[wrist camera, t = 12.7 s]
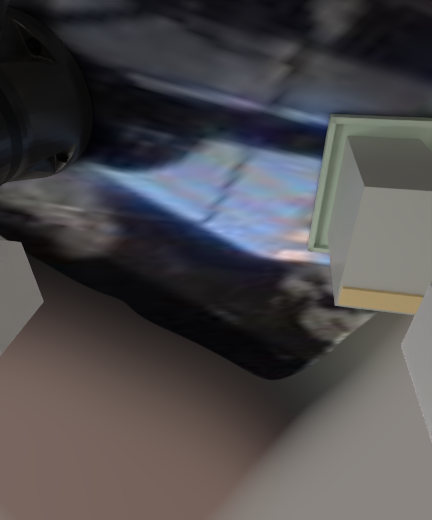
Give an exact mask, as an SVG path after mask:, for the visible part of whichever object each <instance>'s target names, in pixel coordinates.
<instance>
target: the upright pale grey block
mask: <svg viewBox="0 0 432 520" xmlns="http://www.w3.org/2000/svg"><path fill="white" fill-rule="evenodd" d="M327 238H328V247H329V256H330V265H331V274H332V283H333V292H334V301H335V306H343V307H351V308H359V309H368V310H376V311H384V312H393V313H401V314H409V315H415V314H416V312H417V310H418V308H419V306H420V304H421V302H422V299H423V297H424V295H425V293H426V291H427V289H428V287H429V285H430V284H431V281H432V151H431V150H430V149H429V148H428V147H427V146H426V145H425V144H424V142H423V141H422V140H421V139H404V138H383V137H362V136H347V138H346V143H345V148H344V152H343V157H342V162H341V167H340V172H339V177H338V182H337V187H336V192H335V197H334V202H333V207H332V212H331V217H330V222H329V227H328V232H327Z"/></svg>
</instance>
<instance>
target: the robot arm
mask: <svg viewBox="0 0 432 520" xmlns="http://www.w3.org/2000/svg"><path fill="white" fill-rule="evenodd" d="M7 4H8V0H0V186H1V185H2V184H4V183H6V182H11V181H20V180H28V179H37V178H44V177H49V176H52V175H54V174H57V173H59V172H61V171H62V170H64V169H65V168H67V167H68V166H70V165H71V164H73V163H74V162H75V161H77V160H78V159H79V158H80V156H81V155H82V154H83V153H84V151H85V149H86V147H87V145H88V143H89V140H90V137H91V133H92V126H93V110H92V102H91V97H90V93H89V90H88V87H87V84H86V81H85V79H84V76H83V74H82V72H81V70H80V68H79V66H78V64H77V62H76V61H75V59H74V57H73V56H72V54H71V53H70V52H69V50H68V49H67V47H66V46H65V45H64V44H63V42H62V41H61V40H60V39H59V38H58V37H57V36H56V35H55V34H54V33H53V32H52V31H51V30H50V29H49V28H48V27H46V26H45V25H44V24H43V23H41V22H40V21H38V20H37V19H36V18H34V17H32V16H31V15H29V14H27V13H25V12H23V11H21V10H18V9H15V8H12V7H9V6H7ZM42 303H43V299H42V296H41V294H40V291H39V289H38V286H37V283H36V280H35V278H34V275H33V273H32V270H31V267H30V265H29V262H28V259H27V257H26V254H25V252H24V249H23V246H22V244H21V242H14V241H3V240H0V356H1V354H2V353H3V352H4V350H5V349H6V348H7V347H8V345H9V344H10V343H11V342H12V340H13V339H14V338H15V337H16V336H17V334H18V333H19V332H20V331H21V329H22V328H23V327H24V326H25V324H26V323H27V322H28V321H29V319H30V318H31V317H32V315H33V314H34V313H35V312H36V311H37V309H38V308H39V307H40V305H41V304H42ZM401 348H402V351H403V355H404V357H405V361H406V364H407V367H408V370H409V373H410V377H411V380H412V383H413V386H414V389H415V393H416V396H417V399H418V402H419V405H420V408H421V411H422V415H423V418H424V421H425V424H426V427H427V430H428V433H429V437H430V439H431V443H432V284H430V285H429V287H428V289H427V291H426V293H425V295H424V297H423V299H422V302H421V304H420V306H419V308H418V310H417V312H416V314H415V316H414V319H413V321H412V323H411V325H410V327H409V329H408V331H407V334H406V336H405V338H404V340H403V342H402V344H401Z"/></svg>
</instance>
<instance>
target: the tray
mask: <svg viewBox="0 0 432 520" xmlns="http://www.w3.org/2000/svg"><path fill="white" fill-rule="evenodd" d="M347 136H362V137H383V138H404V139H421V140H422V141H423V142H424V144H425V145H426V146H427V147H428V148H429V149H430V150H431V151H432V118H424V117H400V116H376V115H352V114H330V118H329V123H328V129H327V135H326V141H325V147H324V153H323V158H322V164H321V170H320V176H319V182H318V188H317V194H316V199H315V205H314V211H313V217H312V223H311V229H310V235H309V240H308V251H311V252H321V253H329V247H328V238H327V232H328V227H329V222H330V217H331V212H332V207H333V202H334V197H335V192H336V187H337V182H338V177H339V172H340V167H341V162H342V157H343V152H344V148H345V143H346V138H347Z"/></svg>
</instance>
